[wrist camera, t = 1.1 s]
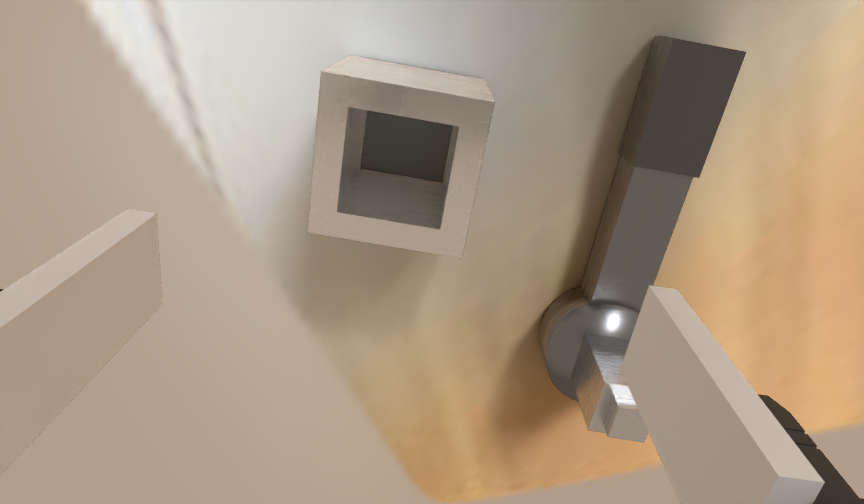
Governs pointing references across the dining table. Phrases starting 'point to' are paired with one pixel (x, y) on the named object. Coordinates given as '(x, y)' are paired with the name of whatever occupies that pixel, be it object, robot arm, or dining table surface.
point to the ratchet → (637, 228)
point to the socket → (387, 193)
